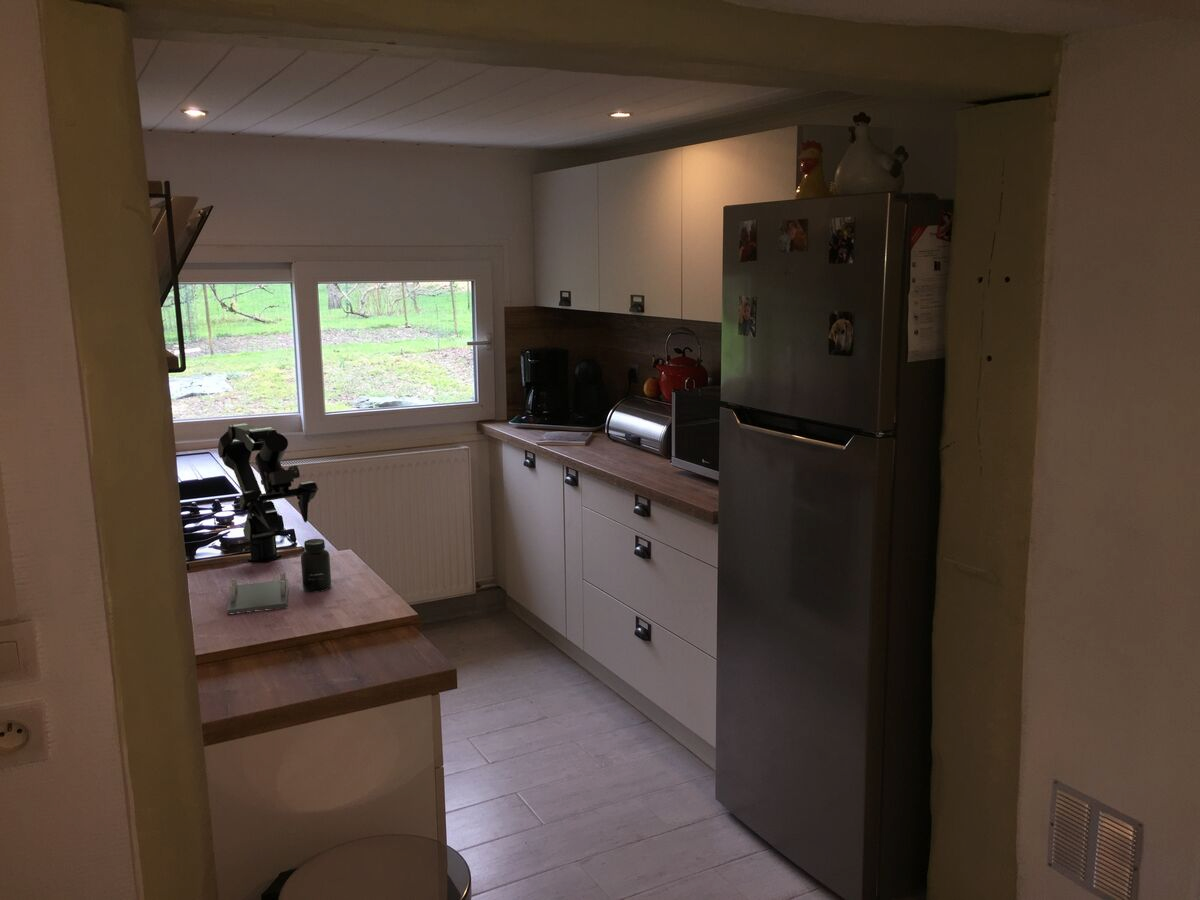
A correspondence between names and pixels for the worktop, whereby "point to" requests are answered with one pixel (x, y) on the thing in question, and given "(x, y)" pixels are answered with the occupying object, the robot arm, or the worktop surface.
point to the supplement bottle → (315, 566)
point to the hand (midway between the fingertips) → (288, 525)
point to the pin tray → (258, 595)
